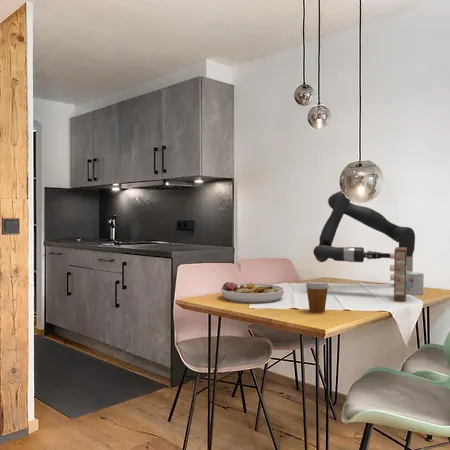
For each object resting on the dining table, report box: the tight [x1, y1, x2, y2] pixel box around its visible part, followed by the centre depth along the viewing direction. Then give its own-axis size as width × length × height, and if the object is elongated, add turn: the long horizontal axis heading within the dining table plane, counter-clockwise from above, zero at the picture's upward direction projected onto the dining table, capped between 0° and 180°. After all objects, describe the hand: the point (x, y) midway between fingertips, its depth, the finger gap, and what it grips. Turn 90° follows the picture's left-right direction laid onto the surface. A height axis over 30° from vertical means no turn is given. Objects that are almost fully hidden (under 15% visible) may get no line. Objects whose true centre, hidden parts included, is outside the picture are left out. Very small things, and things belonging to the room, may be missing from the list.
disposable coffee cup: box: [305, 280, 330, 313], centre depth 203 cm, size 10×10×12 cm
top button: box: [389, 252, 395, 260], centre depth 237 cm, size 3×7×3 cm, turn 68°
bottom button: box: [389, 273, 407, 282], centre depth 232 cm, size 3×7×3 cm, turn 68°
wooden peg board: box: [393, 246, 407, 303], centre depth 232 cm, size 17×5×24 cm, turn 158°
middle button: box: [389, 264, 407, 272], centre depth 228 cm, size 3×7×3 cm, turn 68°
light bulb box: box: [406, 271, 425, 296], centre depth 247 cm, size 11×7×11 cm, turn 25°
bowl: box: [220, 281, 285, 304], centre depth 233 cm, size 30×30×8 cm
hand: (390, 255), depth 238 cm, fingers closed
